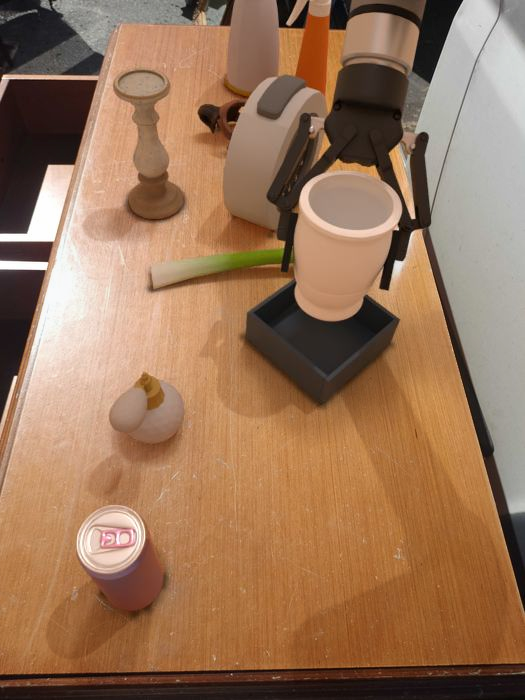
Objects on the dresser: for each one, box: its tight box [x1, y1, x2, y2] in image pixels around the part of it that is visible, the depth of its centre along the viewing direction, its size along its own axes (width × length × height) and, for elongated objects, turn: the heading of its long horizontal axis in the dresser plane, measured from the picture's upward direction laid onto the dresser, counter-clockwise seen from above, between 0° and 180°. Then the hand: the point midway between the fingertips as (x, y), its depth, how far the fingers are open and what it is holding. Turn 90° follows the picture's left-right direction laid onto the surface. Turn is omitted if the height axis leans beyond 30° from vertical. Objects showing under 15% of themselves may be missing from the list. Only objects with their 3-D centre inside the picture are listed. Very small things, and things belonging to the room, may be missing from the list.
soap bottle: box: [224, 0, 280, 98], centre depth 103 cm, size 11×12×26 cm
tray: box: [245, 277, 401, 405], centre depth 74 cm, size 14×14×6 cm
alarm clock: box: [221, 73, 328, 231], centre depth 85 cm, size 21×8×20 cm, turn 153°
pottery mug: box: [197, 98, 248, 151], centre depth 100 cm, size 12×10×8 cm
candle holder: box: [112, 67, 184, 220], centre depth 83 cm, size 9×9×20 cm
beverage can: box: [75, 504, 164, 612], centre depth 52 cm, size 6×6×15 cm
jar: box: [293, 169, 402, 321], centre depth 63 cm, size 11×10×15 cm
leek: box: [149, 247, 294, 290], centre depth 82 cm, size 6×7×30 cm
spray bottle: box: [285, 0, 332, 97], centre depth 96 cm, size 7×11×26 cm, turn 132°
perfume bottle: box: [108, 371, 186, 445], centre depth 62 cm, size 8×10×12 cm
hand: (333, 280), depth 62 cm, fingers closed on jar, 11 cm apart
